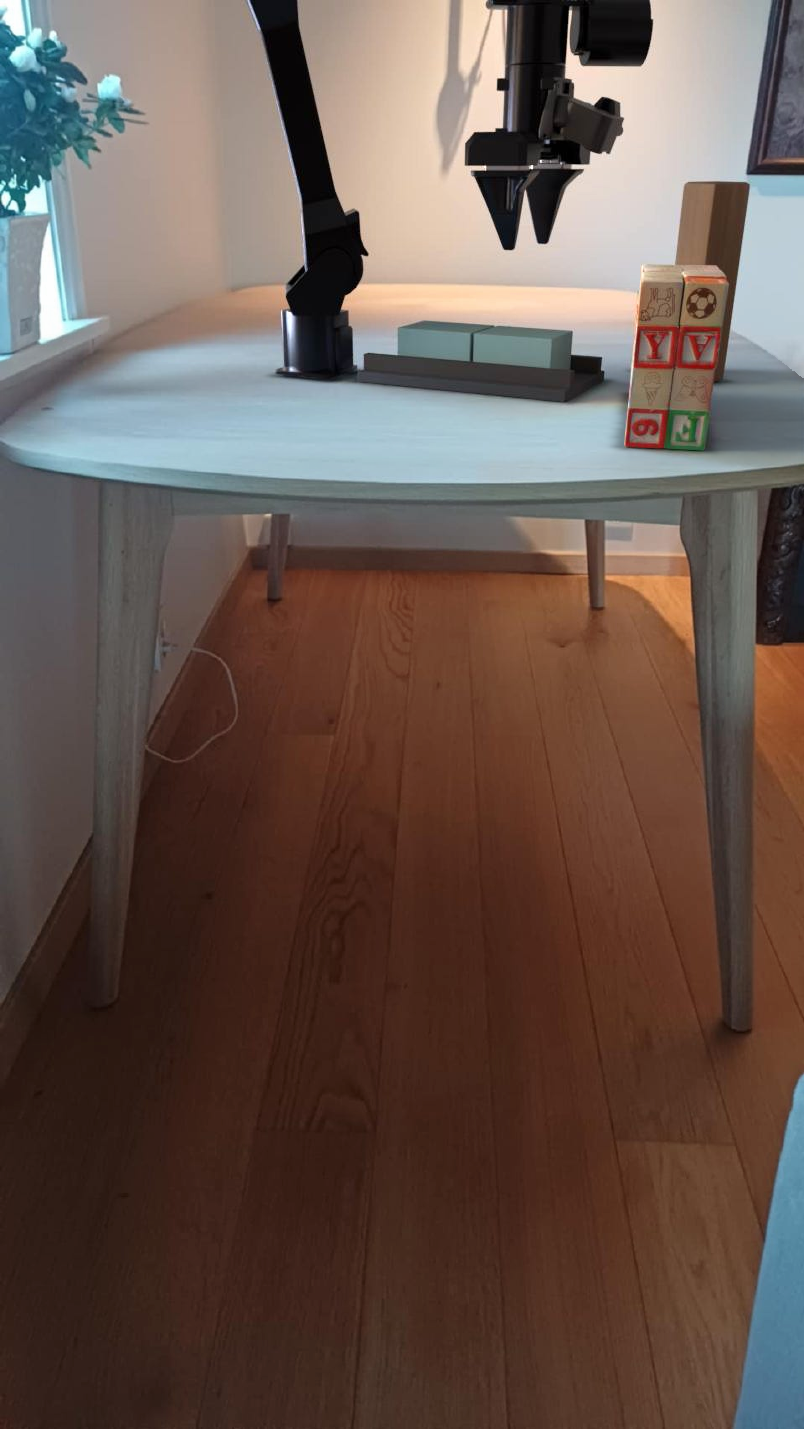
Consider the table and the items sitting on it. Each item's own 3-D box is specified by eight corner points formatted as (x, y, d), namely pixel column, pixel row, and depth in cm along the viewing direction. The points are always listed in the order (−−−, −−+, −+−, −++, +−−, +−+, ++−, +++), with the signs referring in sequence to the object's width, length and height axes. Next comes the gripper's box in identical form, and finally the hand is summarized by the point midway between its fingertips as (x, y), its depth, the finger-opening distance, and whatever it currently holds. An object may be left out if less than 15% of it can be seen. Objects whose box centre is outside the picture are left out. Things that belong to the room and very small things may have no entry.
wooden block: (633, 370, 111) (652, 180, 103) (666, 367, 113) (688, 180, 105) (689, 385, 104) (715, 182, 96) (724, 381, 106) (752, 182, 98)
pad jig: (357, 381, 106) (356, 329, 104) (411, 363, 115) (411, 315, 113) (564, 402, 97) (568, 345, 95) (604, 380, 106) (608, 328, 104)
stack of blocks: (627, 393, 100) (641, 253, 95) (694, 396, 99) (713, 255, 94) (623, 447, 82) (640, 278, 76) (706, 451, 81) (730, 279, 75)
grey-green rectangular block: (472, 376, 103) (473, 333, 101) (495, 366, 108) (497, 325, 106) (549, 383, 100) (552, 339, 98) (570, 373, 105) (573, 330, 103)
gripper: (584, 55, 88) (570, 257, 96) (646, 69, 103) (630, 243, 110) (464, 60, 93) (460, 252, 100) (540, 73, 107) (531, 240, 115)
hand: (526, 247), depth 106 cm, fingers open, 9 cm apart
